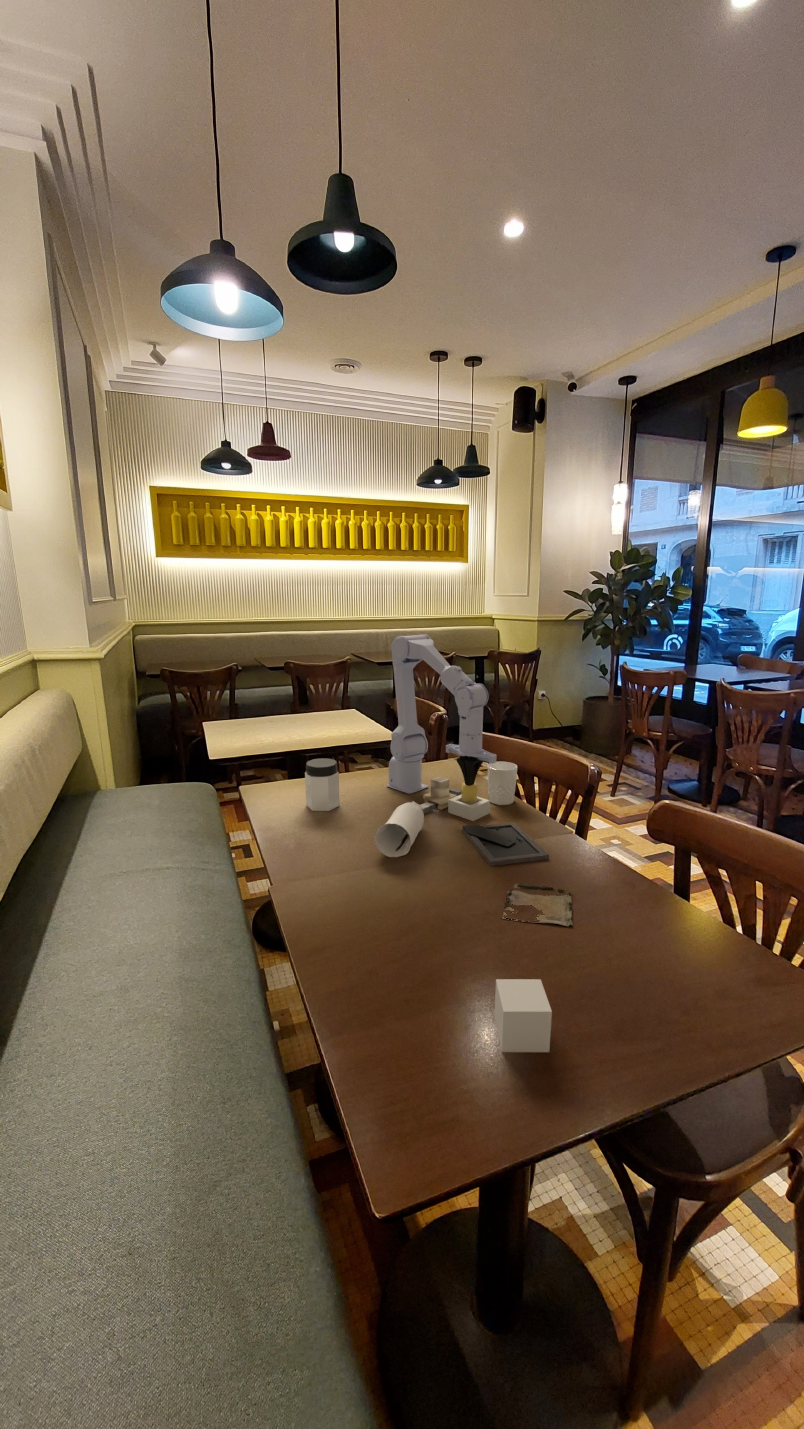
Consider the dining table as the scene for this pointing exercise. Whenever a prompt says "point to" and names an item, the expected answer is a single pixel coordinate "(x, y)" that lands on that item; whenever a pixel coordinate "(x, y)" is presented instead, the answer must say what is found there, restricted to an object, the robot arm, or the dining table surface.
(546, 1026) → the white cube
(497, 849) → the picture frame
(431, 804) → the gray block handle
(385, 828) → the white hollow cylinder
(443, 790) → the carriage
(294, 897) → the dining table surface
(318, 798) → the jar
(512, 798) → the white cup
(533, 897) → the parchment
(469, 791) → the cylinder
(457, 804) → the frame
